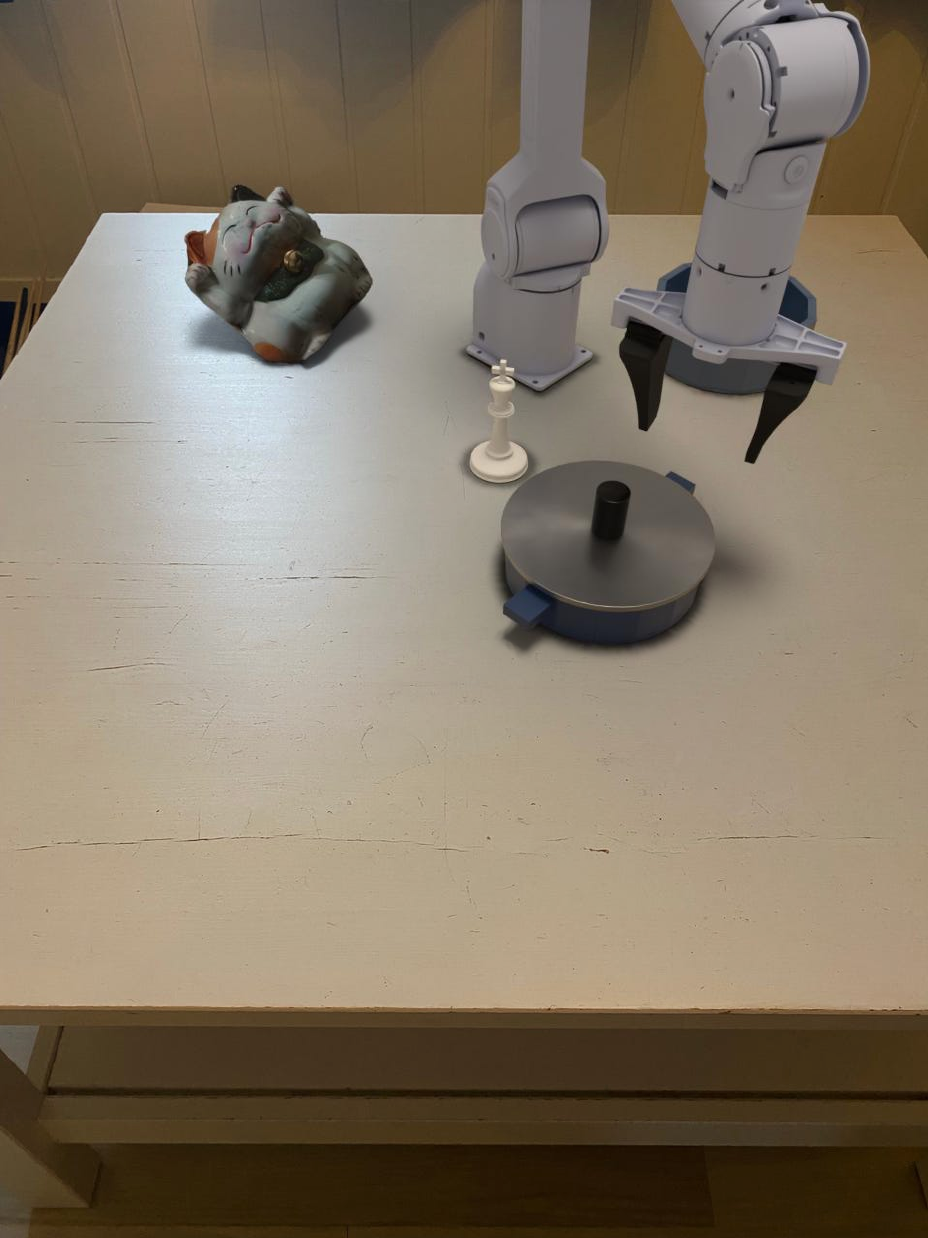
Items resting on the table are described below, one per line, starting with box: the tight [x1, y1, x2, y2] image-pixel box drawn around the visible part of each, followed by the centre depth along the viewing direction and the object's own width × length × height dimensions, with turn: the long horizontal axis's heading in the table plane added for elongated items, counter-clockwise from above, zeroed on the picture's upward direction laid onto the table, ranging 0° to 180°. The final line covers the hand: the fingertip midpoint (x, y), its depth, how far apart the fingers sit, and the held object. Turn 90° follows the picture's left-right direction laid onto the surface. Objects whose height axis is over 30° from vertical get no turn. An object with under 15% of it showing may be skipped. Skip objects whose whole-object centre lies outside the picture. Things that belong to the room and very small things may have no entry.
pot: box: [655, 261, 818, 395], centre depth 89 cm, size 15×15×5 cm
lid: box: [500, 460, 717, 612], centre depth 67 cm, size 15×15×5 cm
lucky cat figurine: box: [183, 184, 374, 363], centre depth 89 cm, size 15×12×14 cm
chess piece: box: [469, 359, 529, 484], centre depth 76 cm, size 5×5×10 cm
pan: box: [502, 470, 700, 645], centre depth 70 cm, size 14×20×4 cm
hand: (699, 438), depth 66 cm, fingers open, 7 cm apart
